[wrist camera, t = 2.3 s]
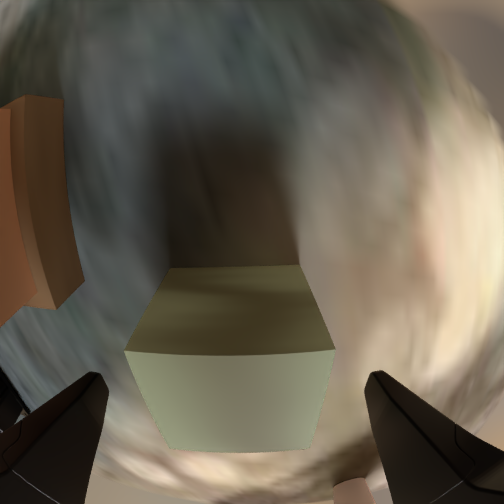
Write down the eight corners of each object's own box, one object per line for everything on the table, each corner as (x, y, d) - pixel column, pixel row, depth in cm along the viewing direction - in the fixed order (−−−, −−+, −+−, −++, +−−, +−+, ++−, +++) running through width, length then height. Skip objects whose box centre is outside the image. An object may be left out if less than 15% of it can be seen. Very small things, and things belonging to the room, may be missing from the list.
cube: (188, 361, 12) (169, 448, 8) (170, 267, 10) (123, 350, 6) (292, 359, 12) (309, 448, 8) (299, 263, 10) (335, 349, 6)
